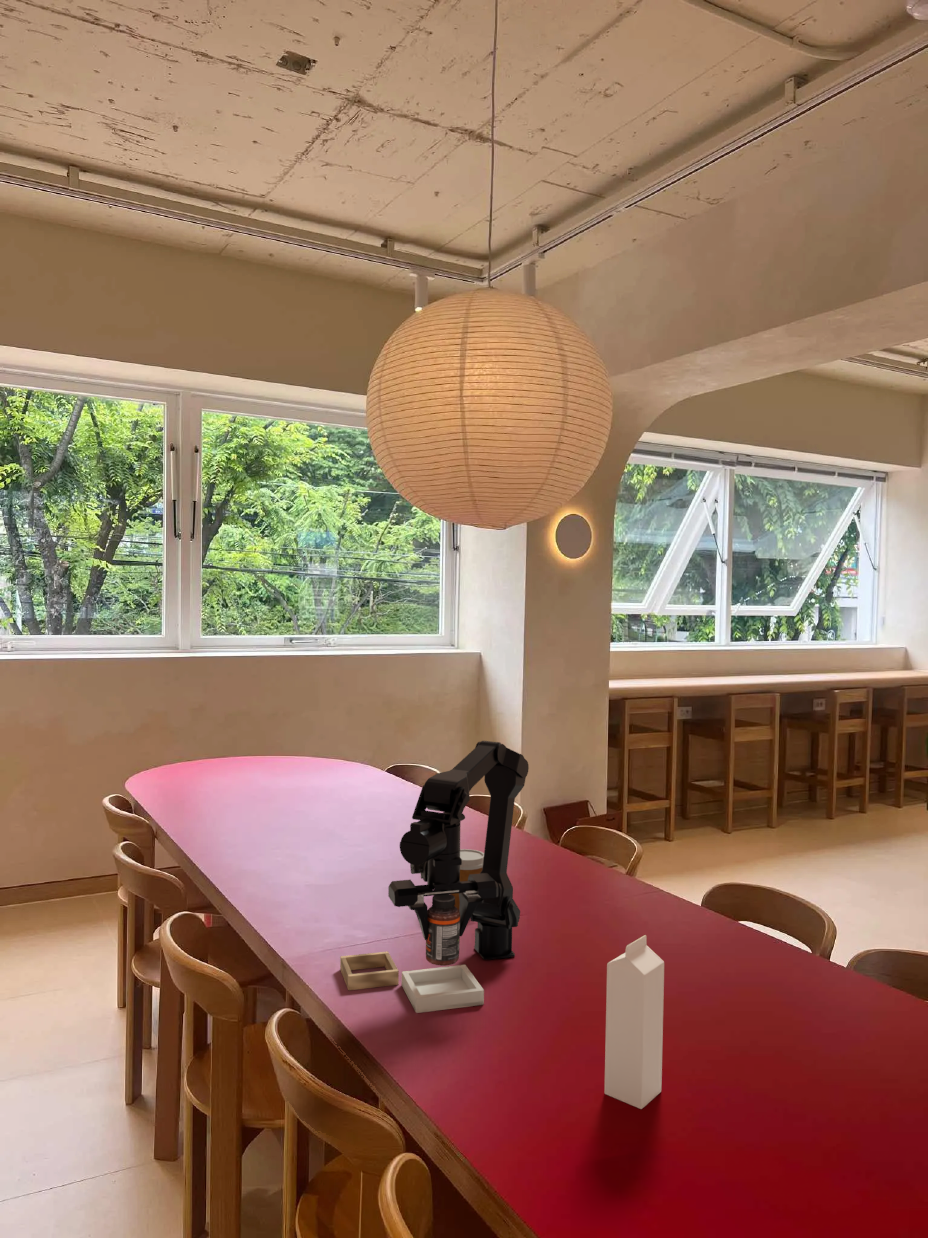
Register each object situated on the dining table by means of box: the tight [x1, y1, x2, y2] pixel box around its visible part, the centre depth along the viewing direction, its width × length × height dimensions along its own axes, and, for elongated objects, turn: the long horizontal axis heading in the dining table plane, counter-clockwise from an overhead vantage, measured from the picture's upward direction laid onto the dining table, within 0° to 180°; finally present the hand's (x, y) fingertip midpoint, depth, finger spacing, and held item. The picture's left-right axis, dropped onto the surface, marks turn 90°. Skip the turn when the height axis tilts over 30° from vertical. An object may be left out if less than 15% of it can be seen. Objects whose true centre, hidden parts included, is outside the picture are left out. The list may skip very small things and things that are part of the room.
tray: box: [401, 964, 485, 1014], centre depth 157 cm, size 12×11×2 cm
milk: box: [604, 934, 665, 1110], centre depth 127 cm, size 6×6×22 cm
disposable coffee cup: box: [451, 848, 484, 910], centre depth 201 cm, size 10×10×12 cm
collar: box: [339, 951, 400, 991], centre depth 164 cm, size 9×9×2 cm
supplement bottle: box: [425, 894, 461, 967], centre depth 157 cm, size 6×6×11 cm
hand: (442, 937), depth 157 cm, fingers closed on supplement bottle, 6 cm apart
